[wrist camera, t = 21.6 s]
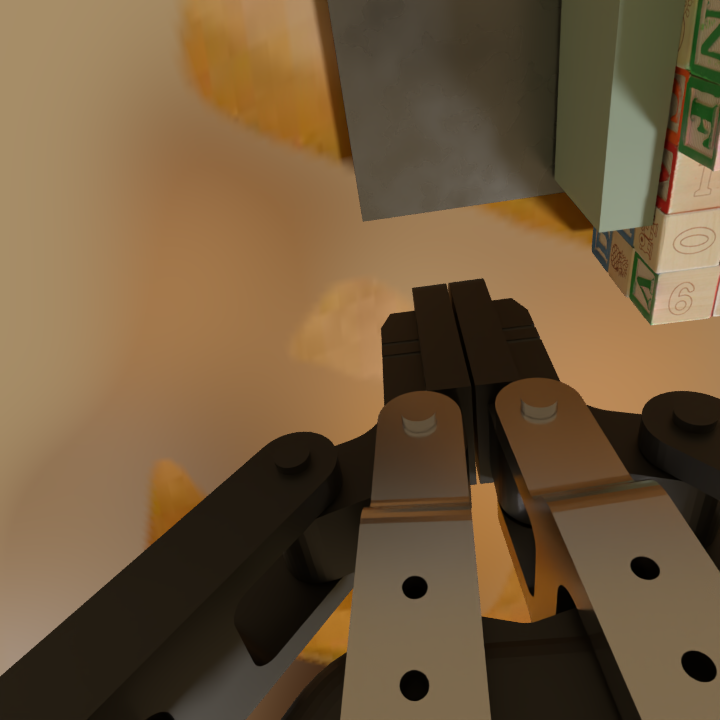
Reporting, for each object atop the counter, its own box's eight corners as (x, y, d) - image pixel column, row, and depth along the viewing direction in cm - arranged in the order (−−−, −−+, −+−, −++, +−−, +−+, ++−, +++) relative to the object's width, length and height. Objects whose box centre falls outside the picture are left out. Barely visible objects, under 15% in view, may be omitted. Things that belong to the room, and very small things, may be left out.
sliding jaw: (618, -78, 27) (698, -88, 21) (597, 173, 34) (652, 225, 28) (564, -68, 27) (627, -75, 21) (554, 179, 34) (599, 232, 28)
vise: (825, -144, 27) (1000, -181, 19) (754, 158, 35) (858, 213, 27) (321, -47, 29) (306, -47, 22) (362, 215, 37) (362, 280, 30)
